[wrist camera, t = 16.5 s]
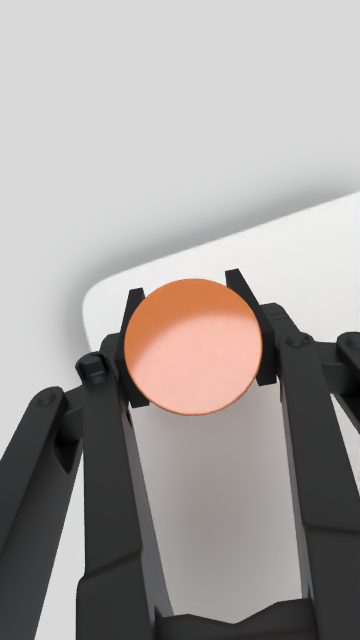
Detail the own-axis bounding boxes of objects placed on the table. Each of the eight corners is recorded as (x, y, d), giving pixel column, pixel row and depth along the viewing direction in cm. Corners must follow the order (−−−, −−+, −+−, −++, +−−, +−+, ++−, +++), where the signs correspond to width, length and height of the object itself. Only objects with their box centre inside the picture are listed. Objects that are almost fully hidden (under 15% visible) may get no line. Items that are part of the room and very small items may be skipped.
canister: (171, 411, 20) (132, 427, 10) (160, 339, 21) (116, 291, 11) (245, 398, 19) (278, 402, 10) (229, 326, 21) (245, 266, 11)
